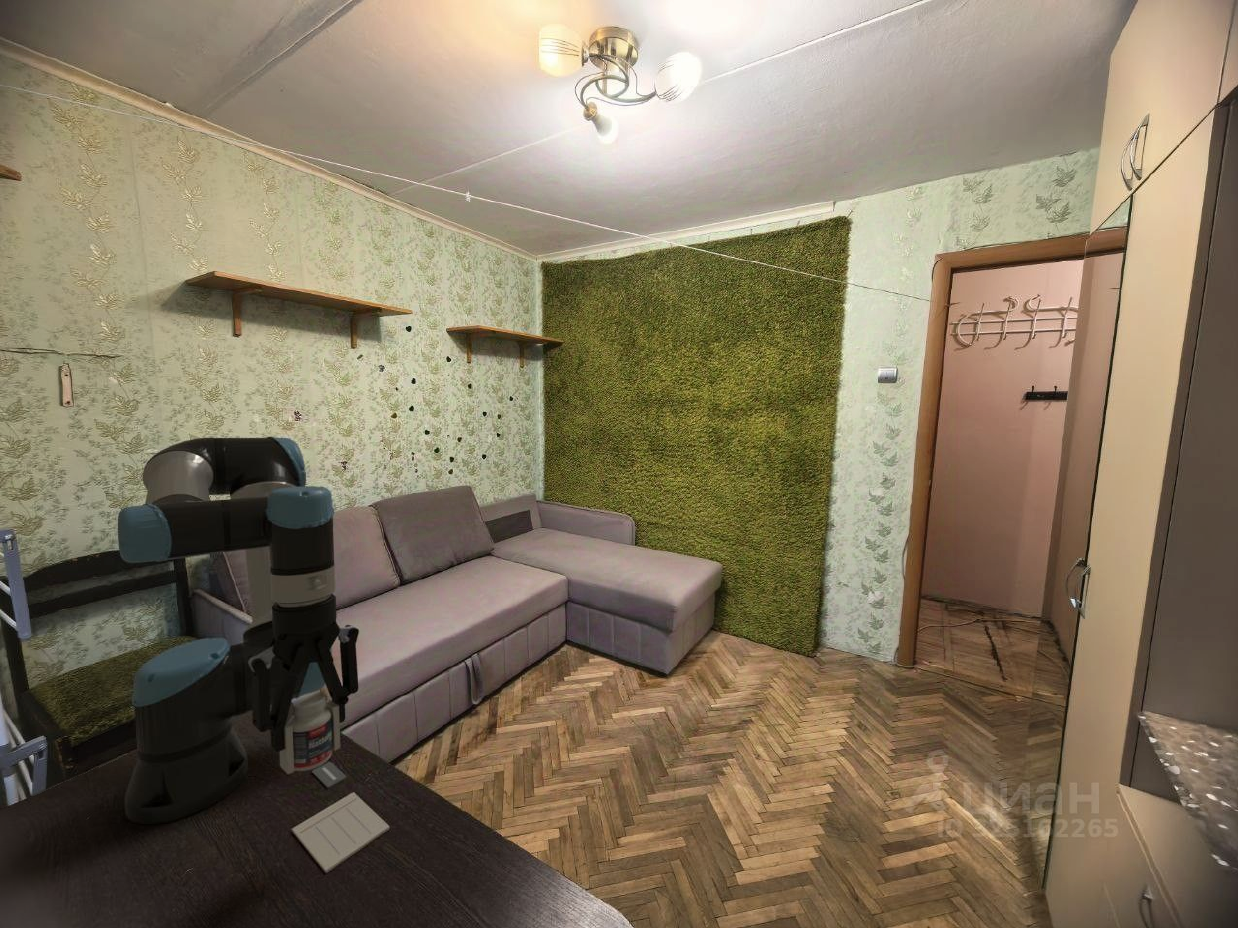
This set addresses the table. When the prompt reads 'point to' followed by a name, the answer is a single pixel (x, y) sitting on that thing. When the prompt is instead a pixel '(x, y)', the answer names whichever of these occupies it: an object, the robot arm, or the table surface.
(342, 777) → the grey striped flat block
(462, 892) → the table surface
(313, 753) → the pill bottle
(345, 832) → the paper
